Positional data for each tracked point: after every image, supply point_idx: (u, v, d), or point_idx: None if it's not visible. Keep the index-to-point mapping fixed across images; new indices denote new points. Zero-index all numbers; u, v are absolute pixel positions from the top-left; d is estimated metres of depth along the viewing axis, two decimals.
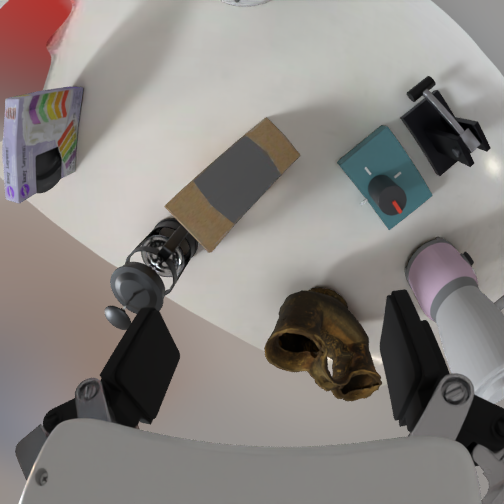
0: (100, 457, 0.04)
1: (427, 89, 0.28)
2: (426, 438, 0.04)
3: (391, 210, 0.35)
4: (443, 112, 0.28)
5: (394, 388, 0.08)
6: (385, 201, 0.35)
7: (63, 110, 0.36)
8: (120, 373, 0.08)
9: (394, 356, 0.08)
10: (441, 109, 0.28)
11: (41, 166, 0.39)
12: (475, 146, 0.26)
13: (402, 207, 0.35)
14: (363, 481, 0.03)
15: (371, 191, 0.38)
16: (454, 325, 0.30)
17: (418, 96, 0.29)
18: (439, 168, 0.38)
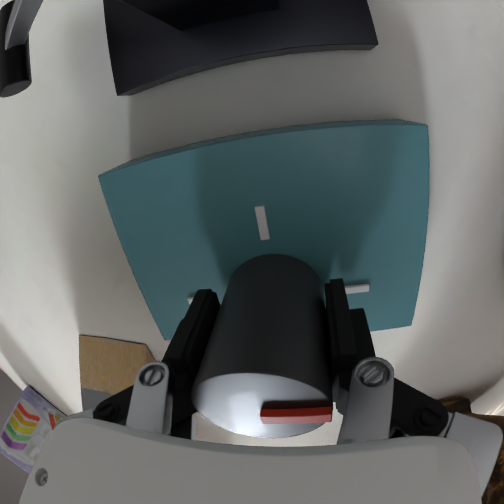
0: (100, 457, 0.04)
1: (5, 31, 0.05)
2: (426, 438, 0.04)
3: (296, 425, 0.08)
4: None
5: None
6: (246, 424, 0.08)
7: (32, 417, 0.33)
8: (189, 353, 0.08)
9: None
10: None
11: None
12: None
13: (318, 400, 0.07)
14: (363, 481, 0.03)
15: None
16: None
17: (8, 67, 0.06)
18: (346, 28, 0.08)
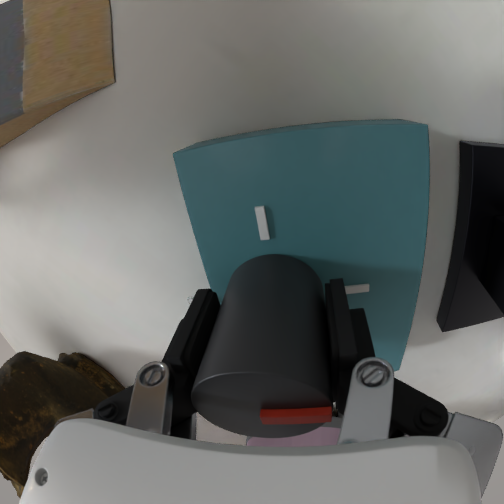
0: (100, 457, 0.04)
1: None
2: (426, 438, 0.04)
3: (296, 425, 0.08)
4: None
5: None
6: (246, 424, 0.08)
7: None
8: (189, 353, 0.08)
9: None
10: None
11: None
12: None
13: (317, 400, 0.07)
14: (363, 481, 0.03)
15: None
16: None
17: None
18: (456, 316, 0.14)
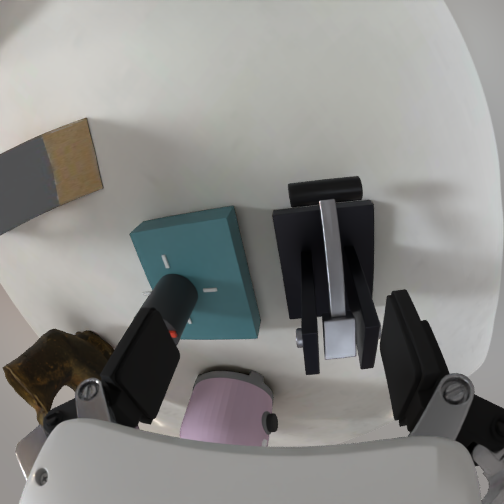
0: (100, 457, 0.04)
1: (334, 200, 0.18)
2: (426, 438, 0.04)
3: None
4: (330, 260, 0.18)
5: (394, 388, 0.08)
6: None
7: None
8: (120, 373, 0.08)
9: (394, 356, 0.08)
10: (331, 253, 0.18)
11: None
12: (341, 355, 0.17)
13: (169, 327, 0.22)
14: (363, 481, 0.03)
15: None
16: None
17: (304, 203, 0.19)
18: (295, 310, 0.29)
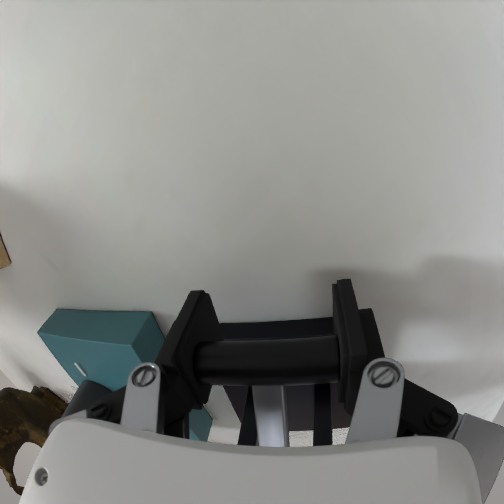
0: (100, 457, 0.04)
1: (280, 387, 0.09)
2: (426, 438, 0.04)
3: None
4: None
5: None
6: None
7: None
8: (180, 355, 0.08)
9: None
10: None
11: None
12: None
13: None
14: (363, 481, 0.03)
15: None
16: None
17: (225, 384, 0.09)
18: None
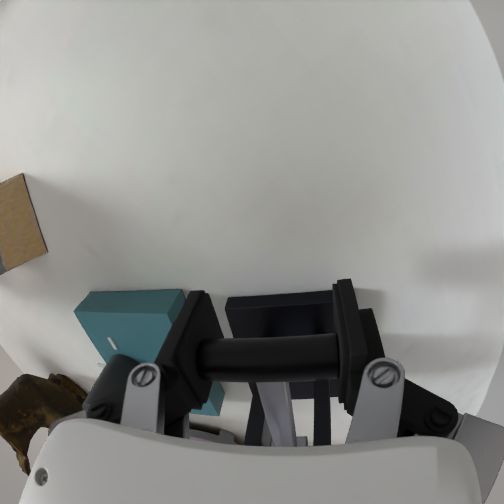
0: (100, 457, 0.04)
1: (283, 382, 0.09)
2: (426, 438, 0.04)
3: None
4: (274, 431, 0.11)
5: None
6: None
7: None
8: (180, 355, 0.08)
9: None
10: (275, 426, 0.11)
11: None
12: None
13: None
14: (363, 481, 0.03)
15: None
16: None
17: None
18: None
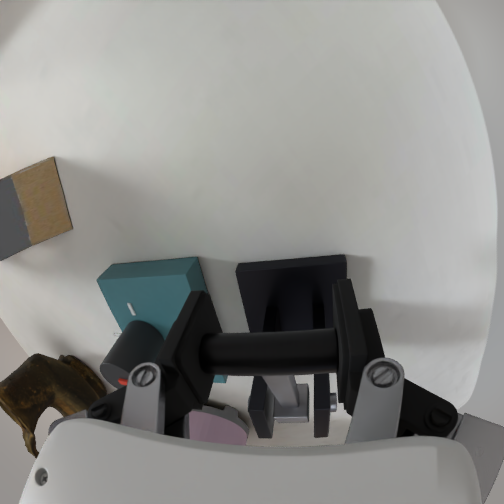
0: (100, 457, 0.04)
1: None
2: (426, 438, 0.04)
3: None
4: (278, 394, 0.13)
5: (337, 372, 0.09)
6: (119, 385, 0.22)
7: None
8: (180, 355, 0.08)
9: None
10: (279, 392, 0.13)
11: None
12: (294, 422, 0.17)
13: None
14: (363, 481, 0.03)
15: None
16: None
17: None
18: None
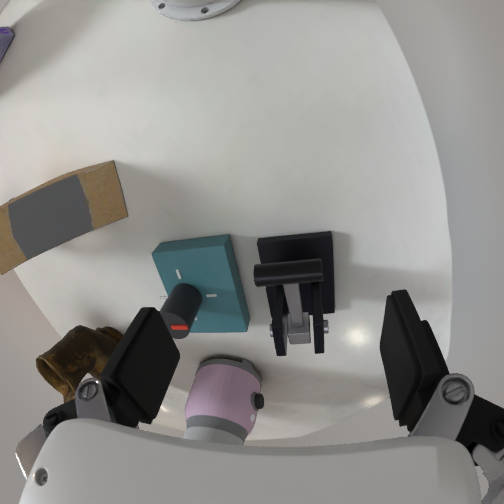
0: (100, 457, 0.04)
1: None
2: (426, 438, 0.04)
3: (182, 332, 0.32)
4: (291, 309, 0.24)
5: (394, 388, 0.08)
6: (170, 331, 0.33)
7: None
8: (120, 373, 0.08)
9: (394, 356, 0.08)
10: (292, 306, 0.24)
11: None
12: (300, 343, 0.28)
13: (183, 322, 0.32)
14: (363, 481, 0.03)
15: None
16: None
17: None
18: None
